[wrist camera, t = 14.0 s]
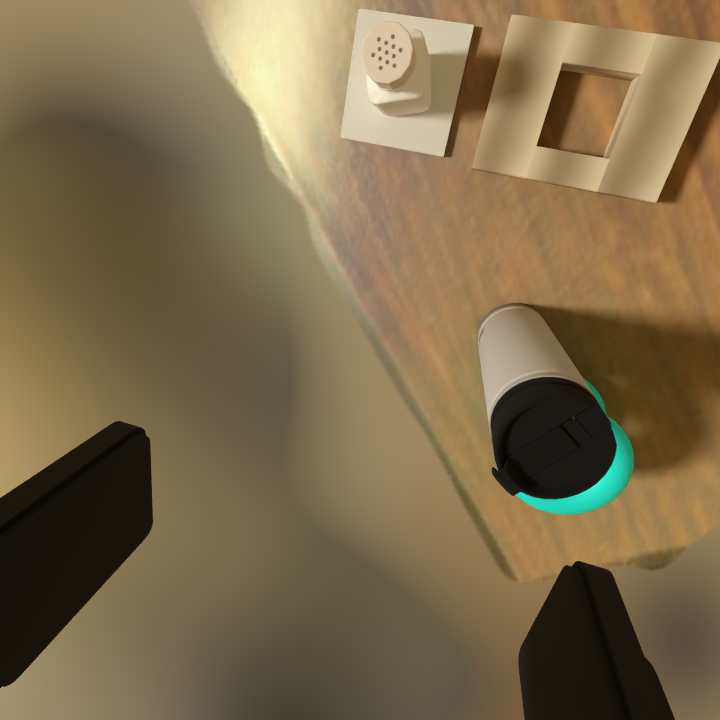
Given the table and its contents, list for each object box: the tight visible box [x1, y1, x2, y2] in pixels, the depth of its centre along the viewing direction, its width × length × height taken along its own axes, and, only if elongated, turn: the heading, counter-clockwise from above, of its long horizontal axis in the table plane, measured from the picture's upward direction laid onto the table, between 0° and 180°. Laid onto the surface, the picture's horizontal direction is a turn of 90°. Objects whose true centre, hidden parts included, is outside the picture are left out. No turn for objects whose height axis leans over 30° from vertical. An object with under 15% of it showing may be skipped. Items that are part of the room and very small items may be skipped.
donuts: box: [516, 378, 634, 514], centre depth 37 cm, size 10×10×10 cm
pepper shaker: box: [361, 21, 431, 117], centre depth 30 cm, size 4×4×10 cm
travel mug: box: [477, 304, 617, 499], centre depth 31 cm, size 6×7×20 cm
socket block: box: [472, 14, 720, 203], centre depth 32 cm, size 14×10×2 cm
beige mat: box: [341, 9, 474, 157], centre depth 34 cm, size 9×9×1 cm
